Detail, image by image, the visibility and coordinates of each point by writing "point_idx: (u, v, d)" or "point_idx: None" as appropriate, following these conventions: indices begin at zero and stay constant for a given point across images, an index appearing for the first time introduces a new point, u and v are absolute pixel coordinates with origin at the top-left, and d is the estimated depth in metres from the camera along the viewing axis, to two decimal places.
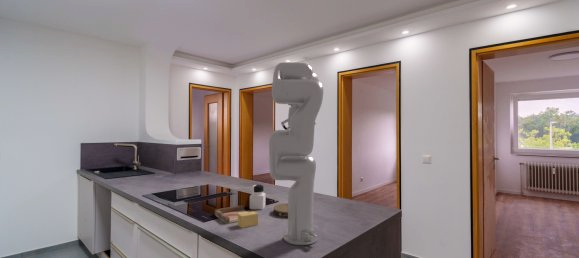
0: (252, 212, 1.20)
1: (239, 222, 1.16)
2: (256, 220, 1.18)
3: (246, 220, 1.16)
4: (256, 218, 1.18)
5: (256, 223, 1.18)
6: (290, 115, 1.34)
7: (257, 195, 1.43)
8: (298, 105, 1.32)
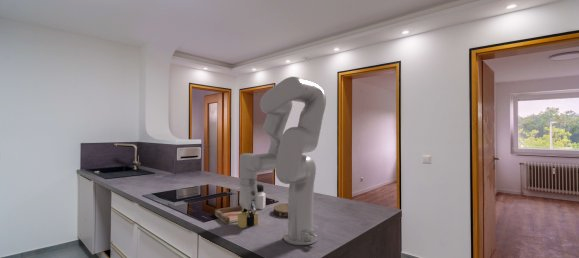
0: None
1: (239, 222, 1.17)
2: (256, 220, 1.18)
3: (246, 220, 1.16)
4: (256, 218, 1.18)
5: (256, 223, 1.18)
6: None
7: None
8: None
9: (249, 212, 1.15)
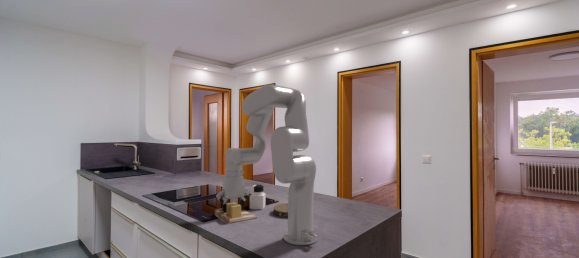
0: (230, 203, 1.32)
1: (236, 213, 1.27)
2: None
3: None
4: None
5: None
6: None
7: (257, 195, 1.43)
8: None
9: (243, 196, 1.33)
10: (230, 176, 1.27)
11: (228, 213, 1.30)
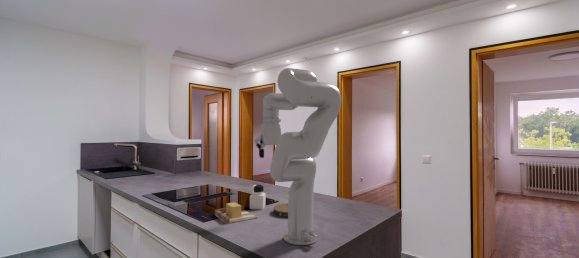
0: (230, 203, 1.32)
1: (236, 213, 1.27)
2: None
3: None
4: None
5: None
6: None
7: (257, 195, 1.43)
8: None
9: None
10: (268, 122, 1.27)
11: (228, 213, 1.30)
